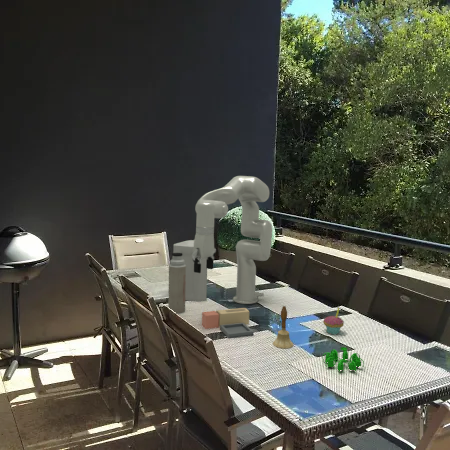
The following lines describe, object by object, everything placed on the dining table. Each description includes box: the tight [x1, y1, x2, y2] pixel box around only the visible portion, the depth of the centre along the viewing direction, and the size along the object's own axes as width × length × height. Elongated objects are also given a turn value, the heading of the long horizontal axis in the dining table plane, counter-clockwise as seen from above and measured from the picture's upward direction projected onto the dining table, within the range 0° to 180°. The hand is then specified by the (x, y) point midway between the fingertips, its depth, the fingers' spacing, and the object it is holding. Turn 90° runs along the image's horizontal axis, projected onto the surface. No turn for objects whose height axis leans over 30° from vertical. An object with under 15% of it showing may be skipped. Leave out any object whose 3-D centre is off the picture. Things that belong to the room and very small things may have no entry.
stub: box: [201, 310, 220, 330], centre depth 221 cm, size 6×5×6 cm
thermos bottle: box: [167, 252, 186, 314], centre depth 239 cm, size 8×8×28 cm
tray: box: [219, 323, 254, 339], centre depth 215 cm, size 11×11×2 cm
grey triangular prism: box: [172, 239, 208, 303], centre depth 261 cm, size 19×15×28 cm
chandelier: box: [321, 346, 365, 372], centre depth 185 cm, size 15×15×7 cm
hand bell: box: [272, 305, 294, 350], centre depth 202 cm, size 8×8×16 cm
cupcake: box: [322, 305, 345, 335], centre depth 217 cm, size 9×8×12 cm
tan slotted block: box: [215, 307, 250, 328], centre depth 225 cm, size 14×5×6 cm, turn 111°
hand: (203, 270), depth 216 cm, fingers open, 9 cm apart
